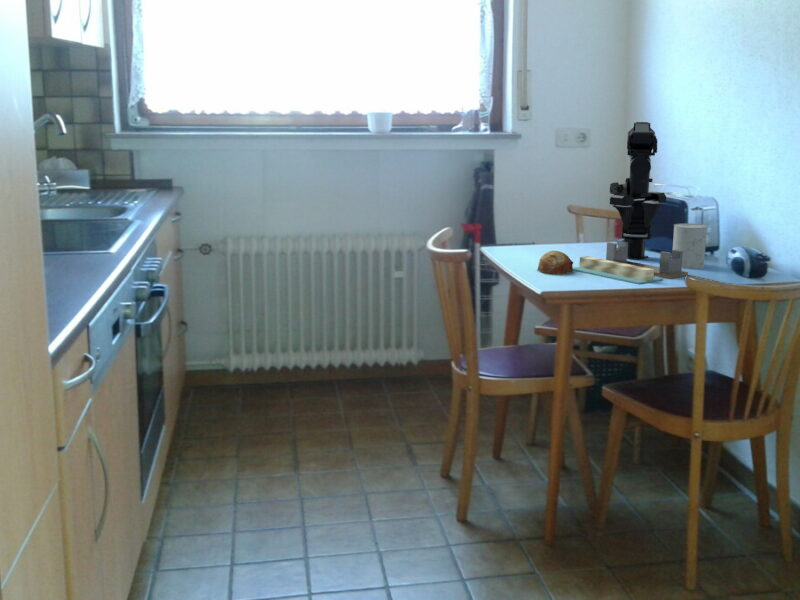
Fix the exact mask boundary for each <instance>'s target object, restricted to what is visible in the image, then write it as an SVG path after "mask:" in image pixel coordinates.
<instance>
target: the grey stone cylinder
mask: <svg viewBox="0 0 800 600" xmlns="http://www.w3.org/2000/svg"><path fill="white" fill-rule="evenodd" d="M707 232H708V225H706V224H699V223H688V222H687V223H686V222H685V223H675V224H673V238H672V239H673V240H672V250H679V251H683V258H682V269H685V270H686V269H687V270H698V269H704V268H705V260H706V259H705V256H706V246H707V245H706V243H707Z"/></svg>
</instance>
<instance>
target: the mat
mask: <svg viewBox="0 0 800 600" xmlns="http://www.w3.org/2000/svg"><path fill="white" fill-rule="evenodd" d="M572 271H575V272H580V273H583V274H584V273H585V274H589V275H593V276H598V277H602V278H603V277H604V278H607V279H612V280H617V281H623V282H626V283H632V284H636V285H641V284H642V285H643V284H647V283H653V282H658V281H663V280H664V278H663V277H657V276H653V280H649V281H643V280H639V279H634V278H629V277H624V276H619V275H615V274H610V273H605V272H600V271H595V270H590V269H586V268H581V267H580V266H576V267H574V266H573V269H572Z"/></svg>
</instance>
